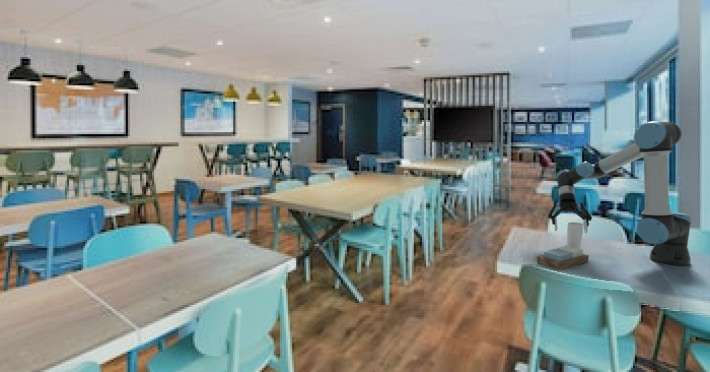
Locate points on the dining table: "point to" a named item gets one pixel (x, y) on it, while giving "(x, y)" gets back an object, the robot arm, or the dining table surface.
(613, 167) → the robot arm
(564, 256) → the slate key
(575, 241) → the drinking glass
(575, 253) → the cream key
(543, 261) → the keyguard frame
